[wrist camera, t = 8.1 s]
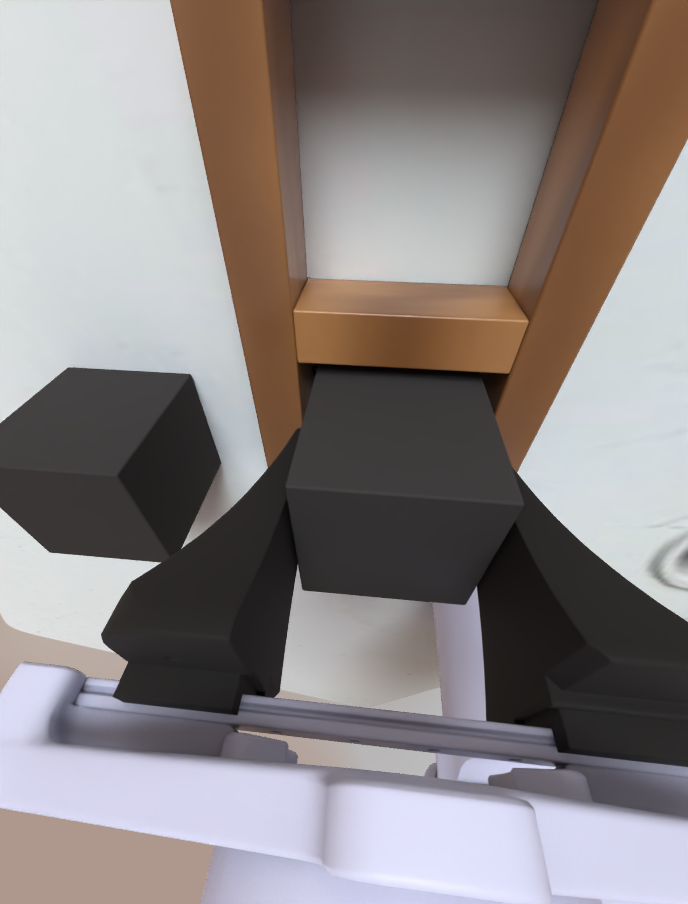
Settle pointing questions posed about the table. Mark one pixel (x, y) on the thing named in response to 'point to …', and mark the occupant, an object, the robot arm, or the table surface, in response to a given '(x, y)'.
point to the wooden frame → (429, 304)
